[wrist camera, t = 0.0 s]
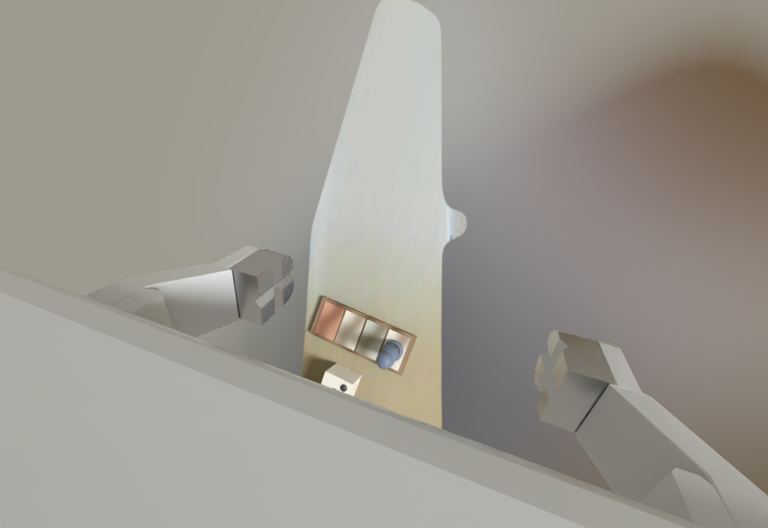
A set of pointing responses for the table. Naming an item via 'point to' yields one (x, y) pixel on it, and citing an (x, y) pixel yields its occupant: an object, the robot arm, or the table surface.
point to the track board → (359, 332)
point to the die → (341, 379)
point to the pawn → (389, 354)
